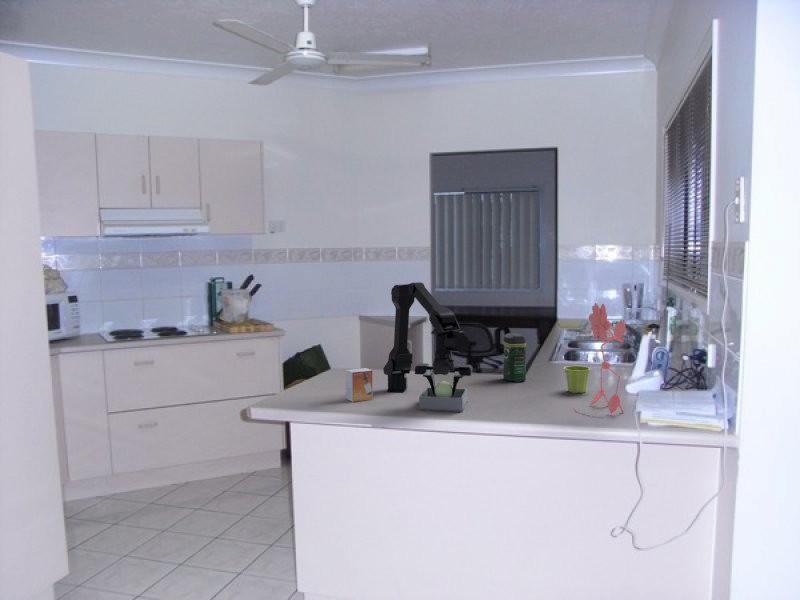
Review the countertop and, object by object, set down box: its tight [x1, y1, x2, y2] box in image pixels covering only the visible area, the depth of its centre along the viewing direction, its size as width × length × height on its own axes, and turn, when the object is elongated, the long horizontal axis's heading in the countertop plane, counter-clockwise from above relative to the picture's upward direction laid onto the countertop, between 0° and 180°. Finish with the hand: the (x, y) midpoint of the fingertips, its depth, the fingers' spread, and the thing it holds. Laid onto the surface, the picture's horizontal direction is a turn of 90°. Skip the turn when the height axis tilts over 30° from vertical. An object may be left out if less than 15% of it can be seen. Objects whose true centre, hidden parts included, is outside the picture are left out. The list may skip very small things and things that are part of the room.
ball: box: [435, 381, 453, 397], centre depth 225 cm, size 6×6×6 cm
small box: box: [345, 367, 374, 403], centre depth 235 cm, size 8×6×10 cm
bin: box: [418, 386, 468, 413], centre depth 225 cm, size 14×14×4 cm
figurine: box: [573, 302, 627, 419], centre depth 216 cm, size 15×26×35 cm, turn 11°
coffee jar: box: [502, 332, 527, 383], centre depth 265 cm, size 10×8×19 cm
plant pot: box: [563, 365, 591, 394], centre depth 244 cm, size 9×9×9 cm
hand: (443, 394), depth 225 cm, fingers closed on ball, 6 cm apart
